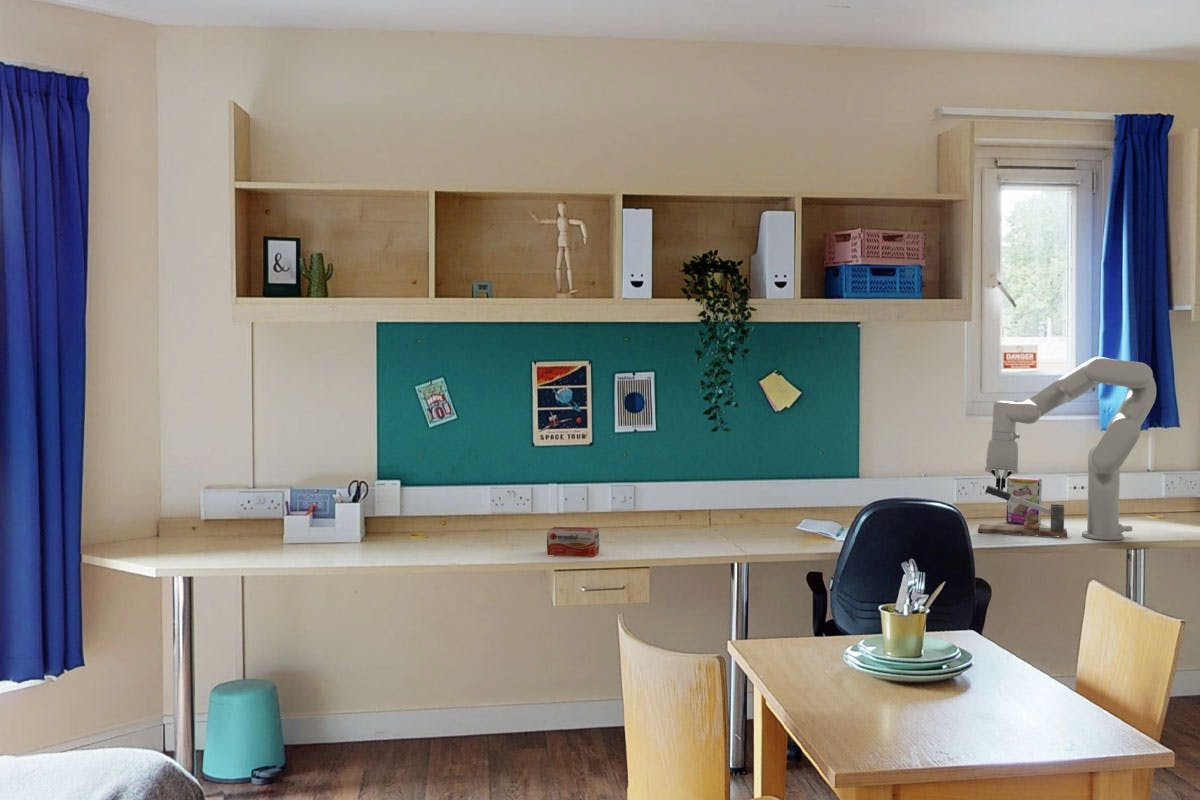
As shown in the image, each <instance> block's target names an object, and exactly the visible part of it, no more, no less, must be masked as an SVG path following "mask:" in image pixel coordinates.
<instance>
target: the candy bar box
mask: <svg viewBox="0 0 1200 800" xmlns="http://www.w3.org/2000/svg"><path fill="white" fill-rule="evenodd" d="M1006 479H1007V481H1006V483H1007V484H1006V485H1007V487H1006V492H1008V493H1011V495H1013V496H1016V497H1019V498H1022V499H1024V500H1027V501H1030V502H1033V503H1035V504H1038V505H1041V506H1042V488H1043V486H1042V485H1043V484H1042V483H1043V479H1042V478H1032V477H1031V478H1030V477H1018V476H1016V477H1015V476H1008V477H1007V478H1006ZM1029 513H1035V514H1036V515H1037V516H1038V521H1037V523H1039V525H1040V524H1041V523H1042V512H1041V511H1039V510H1036V509H1033V508H1030V507H1028V506H1025V505H1022V504H1019V503H1017V502H1014V501H1011V500H1009V501H1008V500H1006V517H1005V521H1006V523H1007V522H1010V524H1017V523H1022V525H1024V523H1025V522H1026V515H1027V514H1029Z"/></svg>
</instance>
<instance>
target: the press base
mask: <svg viewBox="0 0 1200 800" xmlns="http://www.w3.org/2000/svg"><path fill="white" fill-rule="evenodd" d="M1050 509H1051V515H1050V527H1041V526H1040V524H1039V523H1037V521H1038V516H1037V515H1036V514H1035V513H1029V514H1027V515H1026V522H1025V523H1024V524H1023V525H1024V526H1020V525H1005V524H1004V525H1003V524H984V523H979V525H978V527H977V528H978V530H977V531H978V532H983V533H982V534H990V533H1001V534H1000V535H1008V534H1021V535H1020V536H1025V535H1038V536H1037V537H1043V536H1059V537H1058V538H1061V537H1067V538H1068V530H1067V528H1065V506H1064V504H1058V503H1057V504H1056V503H1050Z"/></svg>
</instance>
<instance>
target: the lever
mask: <svg viewBox="0 0 1200 800" xmlns="http://www.w3.org/2000/svg"><path fill="white" fill-rule="evenodd" d="M984 493H986V494H989V495H992V496H994V497H997V498H1000V499H1002V500H1006V501H1007V500H1008V501H1009V500H1011V501H1014V502H1017V503H1019V504H1022V505H1025V506H1028V507H1030V508H1033V509H1036V510H1039V511H1041V513H1044V514H1047V515H1049V516H1051V508H1049V507H1046V506H1044V505H1042V504H1041V505H1038V504H1035V503H1033V502H1030V501H1027V500H1024V499H1022V498H1019V497H1016V496H1013V495H1011V493H1008V492H1007V491H1005V490H1004V489H1003V490H1001V489H1000V490H998V487H994V486H992V485H987V486H986V490H985V491H984Z"/></svg>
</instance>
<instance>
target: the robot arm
mask: <svg viewBox="0 0 1200 800" xmlns="http://www.w3.org/2000/svg"><path fill="white" fill-rule="evenodd" d="M1101 384H1104V385H1109V386H1117V387H1124V388H1127V393H1126V396H1125V397H1124V399H1123V401H1122V403H1121V404H1120V406H1119V408H1118V409H1117V411H1116V412H1115V414H1114V415H1113V416H1112V418H1111V419H1110V420H1109V422H1108V424H1107V426H1106V431H1105V432H1104V434H1103V435H1102V437H1101V439H1100V440H1099V442H1098V443H1096V444H1094V445H1093V446H1092V447H1091V448H1090V450H1089V451H1088V455H1087V516H1086V517H1087V521H1086V524H1087V525H1086V526H1087V529H1086V531H1083V532H1082V533H1081V536H1082V537H1083V538H1087V539H1093V540H1102V541H1119V540H1123V539H1124V537H1125V536H1124V534H1122V533H1124V532H1125V533H1127V532H1132V531H1133V526H1132V525H1123V524H1120V523H1119V522H1120V517H1119V516H1120V488H1121V487H1120V483H1121V482H1120V481H1121V480H1120V479H1121V478H1120V468H1121V467H1122V466H1123V464H1124V463H1125V461H1126V460H1127V458H1128V457H1129V455H1130V453H1131V452H1132V451H1133V449H1134V447H1135V445H1136V444H1137V443H1138V440H1139V439H1140V436H1141V433H1142V432H1141V426H1142V424H1144V421H1145V420H1146V418H1147V416H1148V415H1149V413H1150V411H1151V409H1152V408H1153V405H1154V404H1155V401H1156V397H1157V384H1156V381H1155V378H1154V373H1153V370H1152V368H1151V367H1150V365H1148V364H1146V363H1144V362H1141V361H1131V360H1123V359H1115V358H1108V357H1102V356H1095V357H1092V358H1090V359H1088V360H1087V361H1085V362H1084V363H1082V364H1081V365H1078V366H1077V367H1076V368H1073V370H1070V372H1067V373H1066V374H1064V375H1063V376H1061V377H1059V378H1057V379H1056V380H1054V381H1053V382H1052V383H1051V384H1049V385H1048V386H1047V387H1045V388H1043V389H1042V390H1040V391H1039V392H1037V393H1035V394H1034V395H1032V396H1030V397H1029V398H1027V399H1025V400H1024V401H1022V402H1015V401H1011V400H997V401H994V403H993V411H992V426H991V439H989V440H988V444H987V450H986V451H987V452H986V460H985V462H986V464H985V468H984V471H985V472H987V473H990V474H992V476H994V478H995V488H997V489H998V490H1003V491H1004V489H1006V483H1007V481H1006V479H1008V478H1009V477H1011V475H1018V473H1019V468H1018V466H1019V445H1018V441H1016V439H1020V436H1021V435H1020V434H1018V433H1017V432H1016V429H1017V428H1016V427H1017V423H1021V424H1025V425H1026V424H1027V425H1030V424H1031V425H1032V424H1035V423H1037V421H1039V420H1040V418H1041V417H1043V416H1044V415H1046V414H1047V413H1049V412H1051V411H1053V410H1054V409H1056V408H1058V407H1060V406H1061V405H1062V406H1063V405H1065V404H1067V403H1071V402H1072V401H1074V400H1076V399H1077V398H1080V397H1081V396H1082V395H1085V394H1086V393H1087V392H1089V391H1091V390H1092V389H1094V388H1096V387H1097V386H1099V385H1101ZM1000 470H1001V471H1003V475H1002V476H1001V475H1000Z"/></svg>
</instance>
